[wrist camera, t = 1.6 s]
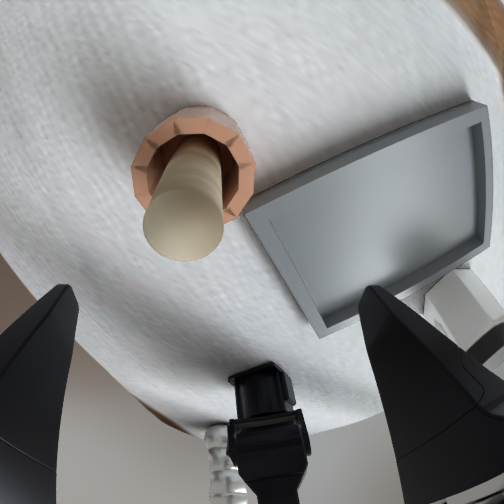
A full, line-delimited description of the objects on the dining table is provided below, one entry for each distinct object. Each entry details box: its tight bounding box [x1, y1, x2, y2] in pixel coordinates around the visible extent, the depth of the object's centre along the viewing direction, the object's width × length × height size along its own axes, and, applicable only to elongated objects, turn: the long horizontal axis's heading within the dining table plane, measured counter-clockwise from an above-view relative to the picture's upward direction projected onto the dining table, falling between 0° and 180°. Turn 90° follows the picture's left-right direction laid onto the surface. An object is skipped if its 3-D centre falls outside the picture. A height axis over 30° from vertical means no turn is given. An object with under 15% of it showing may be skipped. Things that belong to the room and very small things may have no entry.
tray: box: [243, 100, 493, 339], centre depth 23 cm, size 22×16×2 cm
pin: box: [143, 133, 224, 261], centre depth 14 cm, size 3×3×10 cm
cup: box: [131, 106, 255, 224], centre depth 16 cm, size 6×6×5 cm
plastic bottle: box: [204, 425, 248, 504], centre depth 38 cm, size 6×7×20 cm
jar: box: [423, 269, 504, 372], centre depth 26 cm, size 9×8×12 cm
